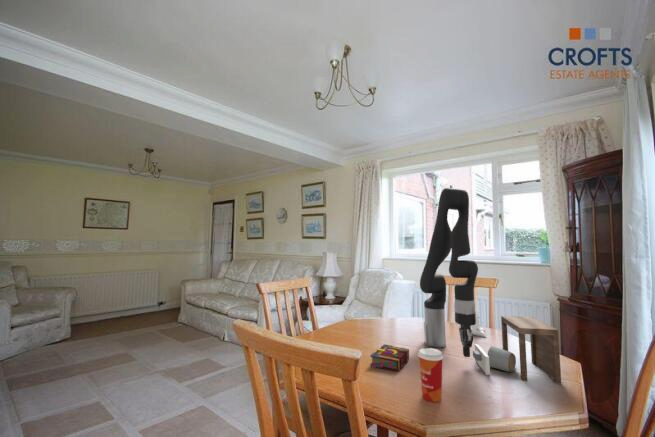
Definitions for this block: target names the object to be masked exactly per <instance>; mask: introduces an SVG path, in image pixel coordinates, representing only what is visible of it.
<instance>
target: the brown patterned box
mask: <svg viewBox="0 0 655 437" xmlns="http://www.w3.org/2000/svg"><path fill="white" fill-rule="evenodd" d="M369 357H370V358H371V363H370V367H372V368H371V369H376V368H377V369H385V370H389V371H394V372H399V371H400V370H402V369H403V367H404V365H405V364H407V363H408V362H409V360H410V349H409V348H404V347H397V346H394V345H389V344H386V343H384V344H383V345H381V346H380V348H377V349H376V351H375V352H372V353H371V354H370V356H369Z"/></svg>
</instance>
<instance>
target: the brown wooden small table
mask: <svg viewBox="0 0 655 437" xmlns="http://www.w3.org/2000/svg"><path fill="white" fill-rule="evenodd" d="M500 318H501V319H500V322H501V337H502V338H501V341H502V342H501V344H502V349H503V350H506V351H509V342H508V340H509V339H508V327H510V328H511V329H513V330H514V331H515V332H517V333H518V344H519V345H518V347H519V348H518V349H519V364H520V365H519V368H520V369H519V370H520V379H521V380H522V381H523V382H524V381H525V382H528V368H527V367H528V365H527V363H528V362H527V348H526V346H527V344H526V335H530V338H529V339H530V351H531V352H530V353H531V357H530V358H531V363H532V364H533V365H536V366H537V365H538V366H537V367H539V368H540V369H541V370H542V369H543V370H542V371H544V372H545V373H546V374H547V375H548V376H550V377H551V378H552V379H553V381H554V382H555V384H562V373H561V356H560V342H559V341H560V340H559V329H557V328H555V327H554V326H551V325H549V324H548V323H545V322H543V321H542V320H540V319H538V318H536V317H534V316H533V317H532V316H517V315H516V316H515V315H514V316H513V315H510V316H509V315H501V316H500Z"/></svg>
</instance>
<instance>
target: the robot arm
mask: <svg viewBox="0 0 655 437" xmlns="http://www.w3.org/2000/svg"><path fill="white" fill-rule="evenodd" d="M438 200H439V201H438V204H437V205H438V206H437V213H436V219H435V223H434V229H433V232H432V236H431V240H430V244H429V250H428V254H427V257H426V261H425V264H424V267H423V269H422V273H421V276H420V280H419V287H420V291H421V292H422V293H424V294H431V296H429V298H427V299H425V300H424V302H423V306H424V308H423V309H424V311H423V312H424V322H423V325H424V326H423V331H424V343H425V346H428V347H431V348H433V347H434V348H444V347H446V345H447V340H446V337H447V336H446V335H447V334H446V314H445V313H446V312H445V311H446V309H445V308H446V307H445V305H446V301H447V282H446V279H445V277H444V275H443V274H442V273H437V270H438V269H439V266H441V264H442V263H444V261H445V260H446V259H447V257H448V256H449V255H451V256H450V262H449V265H448V266H449V267H448V272H449V275H450V276H451V277H452V278H456V279H460V278H461V279H466V280H465V282H461V283H457V284H455V285H454V304H453V305H454V306H453V307H454V322H455V323H456V324H458V325H460V326H459V327H458V331H459V336H460V342H461V345H462V355H463V357H464V358H470V357H471V348H472V347H473V342H474V335H473V334H472V329H471V327H470V326H471V325H475V324H476V314H475V311H476V302H475V284H476V280H477V278H478V273H479V272H478V271H479V267H478V264H477V262H476V261H474V260H472V259H466V260H465V259H463V260H462V259H459V258H460V257H465V256H467V255H469V254H470V253H471V247H470V246H471V245H470V237H469V219H470V218H469V217H470V216H469V213H470V199H469V194H468V192H467V190H465V189H459V188H452V187H451V188H449V187H445V188H443V189H442V190H441V192H440V196H439V199H438ZM449 210H452V211H453V210H454V211H457V212H458V213H457V214H458V218H457V220H456V223H455V224H454V226H453V228H451V227H450V224H449V221H448V214H449ZM450 253H451V254H450Z"/></svg>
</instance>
